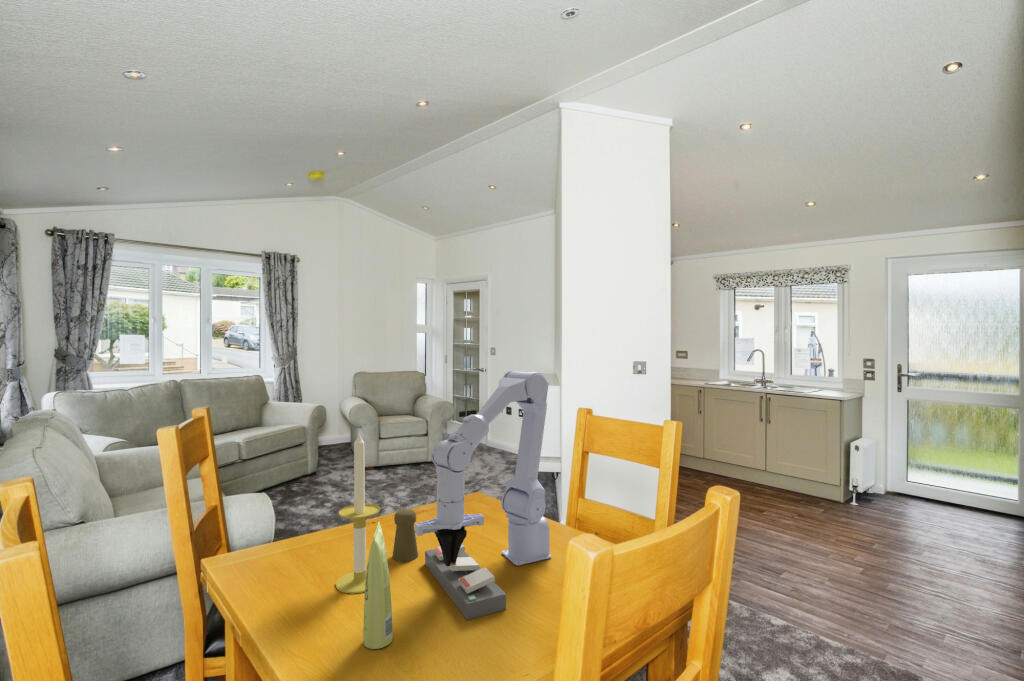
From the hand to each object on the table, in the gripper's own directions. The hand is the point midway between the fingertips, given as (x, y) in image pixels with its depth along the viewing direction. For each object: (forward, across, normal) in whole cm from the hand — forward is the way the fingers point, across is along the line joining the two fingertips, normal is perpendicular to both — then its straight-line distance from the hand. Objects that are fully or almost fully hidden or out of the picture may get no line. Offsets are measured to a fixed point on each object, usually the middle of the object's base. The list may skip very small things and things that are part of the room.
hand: (449, 563), depth 106 cm
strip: (+5, +3, 0) cm, 6 cm away
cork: (+5, -4, +19) cm, 20 cm away
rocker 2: (0, +3, 0) cm, 3 cm away
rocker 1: (0, +3, +8) cm, 8 cm away
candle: (+5, -16, +11) cm, 20 cm away
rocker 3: (0, +3, -8) cm, 8 cm away
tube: (+6, -17, -12) cm, 22 cm away
